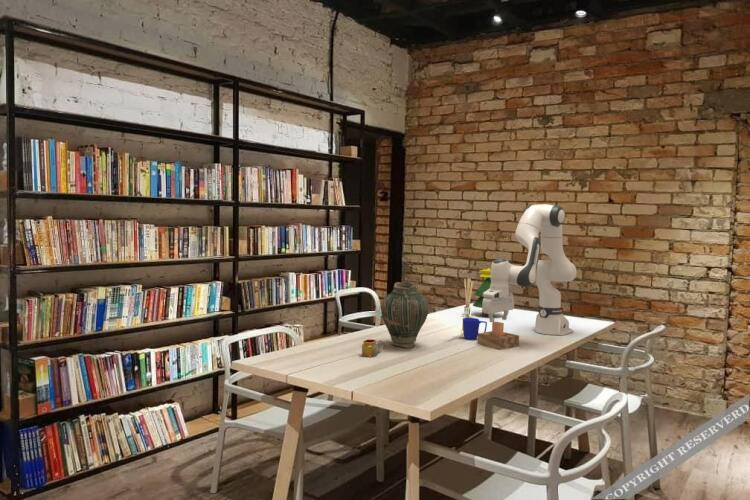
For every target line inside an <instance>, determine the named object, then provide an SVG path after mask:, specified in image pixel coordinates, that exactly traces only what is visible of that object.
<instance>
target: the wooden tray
mask: <svg viewBox="0 0 750 500" xmlns="http://www.w3.org/2000/svg"><path fill="white" fill-rule="evenodd" d="M503 333H505V336H500V337H499V336H495V335H492V330H491V331H486V332H484V331H483V332H480V333H479V332H478V336H477V338H476V340H477V342H476V344H477V345H480V346H484V347H489V348H493V349H496V350H501V351H502V350H505V349H509V348H515V347H519V345H520V335H519V334H514V333H511V332H505V331H503Z"/></svg>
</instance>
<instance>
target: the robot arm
mask: <svg viewBox="0 0 750 500" xmlns="http://www.w3.org/2000/svg"><path fill="white" fill-rule="evenodd" d="M521 213H522V215H521V217H520V219H519V221H518V224H517V227H516V229H515V234H514V236H515V239H516V240H517V242H519V244H520V245H523V246H524V247H526V248H527V250H528V253H527V257H526V263H525V264H524V265H516V264H512V263H510V262H509V260H508V259H506V258H496V259H493V260H492V262H491V267H490V270H491V273H490V278H491V284H490V288H489V289H488V290H487V291H485V292H484V293H483V297H484V298H483V302H482V308H481V312H482V311H483V313H486V314H488V316H489V317H488V318H489V322H490V323H492V322H495V318H494V316H492V315H493V313H494V314H495V313H502V312H503V315H501V317H502V318H501V320H502V321H506V320H507V318H508V317H507V316H508V315H509V311H513V310H514V309H515V298H514V294H513V292H512V291H511V290H509V289H510V288H509V287H510V285H512V286H517V287H521V288H526V289H527V288H530V287H533V285H534V284H535V285H536V286H537V289H538V297H539V301H538V302H539V304H538V306H537V312H538V313H537V314H536V317H535V325H534V327H533V328H532V329H533V330H534V332H535V333H538V334H543V335H549V336H550V335H551V336H555V335H556V336H566V335H569V334H571V333H573V332H574V329H572V328H570V321H569V320H568V318H566V316H564V314H563V312H565V311H566V308H565V307H564V306H561V305H562V304H561V303H562V301H561V300H562V294H561V292H560V290H558V289H557V288H556V287H554V286H553V285H552V283H551V282H557V283H558V282H559V283H566V282H572V281H574V280H575V279H576V276H577V271H578V270H577V268H576V265H574V263H573V262H571V261H570V260H569V259H568V258H567V256H566V253H565V252H564V246H563V223H564V221H565V218H566V211H565V209H564V208H563V207H562V206H560V205H554V204H546V203H543V204H539V203H538V204H528V205H526V206H525V207H524V208H523V209H522V212H521ZM539 235H540V238H539ZM541 251H542V253H544V254H545V255H547V256H548V257H549V258H550V259H551V260H549V259H548V260H545V259H539V258H540V254H541Z"/></svg>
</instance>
